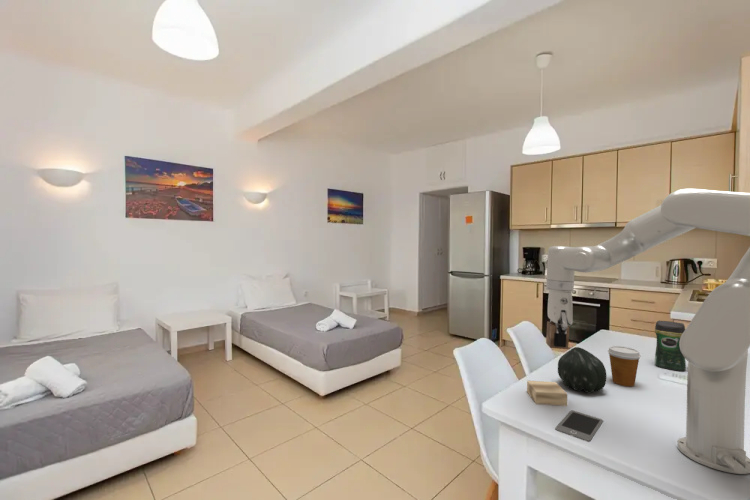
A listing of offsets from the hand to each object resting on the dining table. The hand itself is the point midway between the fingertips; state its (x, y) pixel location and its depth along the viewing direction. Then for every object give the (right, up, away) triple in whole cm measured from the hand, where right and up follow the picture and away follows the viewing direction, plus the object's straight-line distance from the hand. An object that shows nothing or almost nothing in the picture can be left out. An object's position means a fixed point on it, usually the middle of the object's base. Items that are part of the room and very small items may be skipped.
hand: (557, 343), depth 107 cm
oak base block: (-2, -19, +3) cm, 19 cm away
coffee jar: (+62, -19, +31) cm, 72 cm away
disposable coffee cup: (+32, -19, +15) cm, 40 cm away
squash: (+14, -19, +11) cm, 26 cm away
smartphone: (-1, -19, -14) cm, 24 cm away
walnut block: (0, -1, 0) cm, 1 cm away
